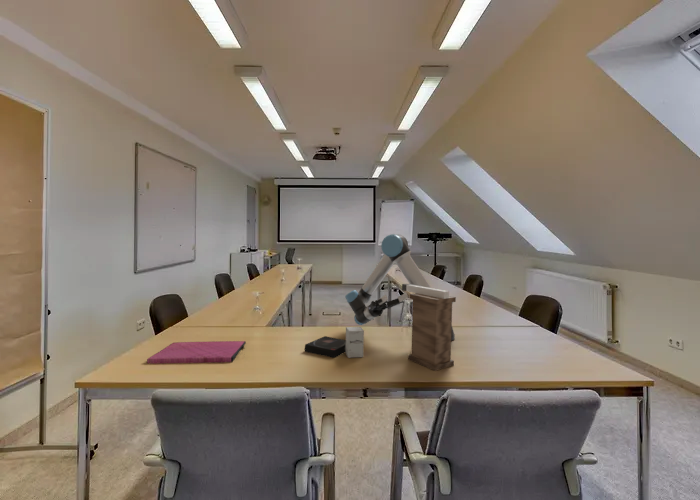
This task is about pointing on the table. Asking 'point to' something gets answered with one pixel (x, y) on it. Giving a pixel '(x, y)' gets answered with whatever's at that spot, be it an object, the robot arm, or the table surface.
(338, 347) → the portable cd player
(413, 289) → the white long bar
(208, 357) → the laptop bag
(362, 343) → the supplement box
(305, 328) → the table surface
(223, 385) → the table surface
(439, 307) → the stand
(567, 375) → the table surface
